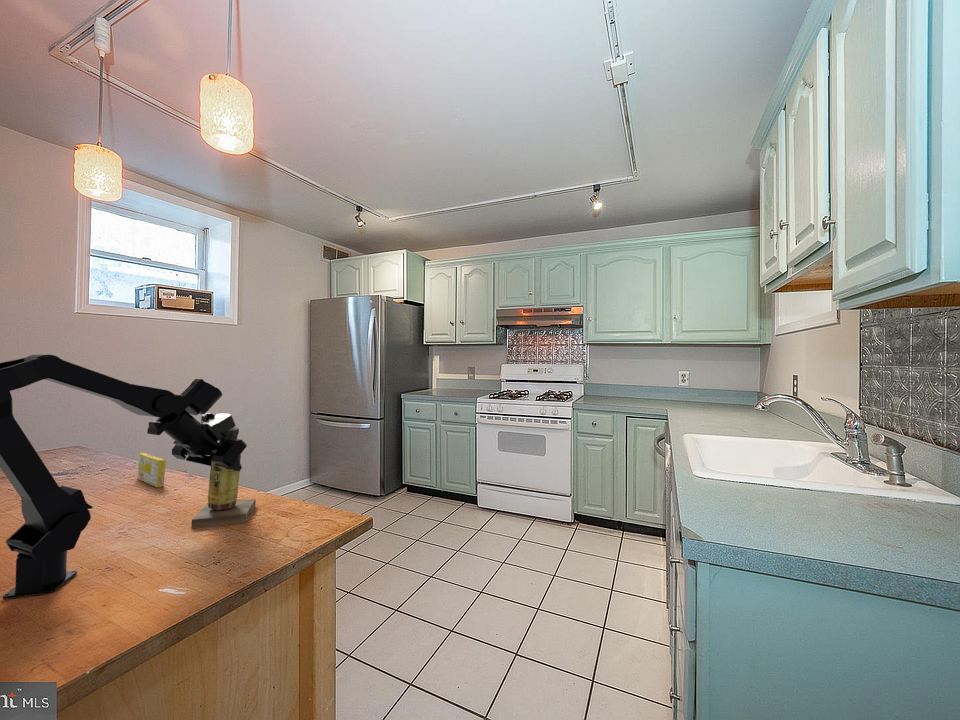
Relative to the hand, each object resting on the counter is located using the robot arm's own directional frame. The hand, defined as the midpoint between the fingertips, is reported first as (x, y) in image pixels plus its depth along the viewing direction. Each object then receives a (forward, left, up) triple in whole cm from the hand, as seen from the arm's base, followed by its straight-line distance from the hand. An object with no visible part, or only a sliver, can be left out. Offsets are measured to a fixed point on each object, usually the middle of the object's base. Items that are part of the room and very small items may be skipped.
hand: (231, 468), depth 98 cm
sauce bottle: (0, +2, -10) cm, 10 cm away
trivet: (-1, +1, -12) cm, 12 cm away
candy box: (+36, +30, -12) cm, 49 cm away
